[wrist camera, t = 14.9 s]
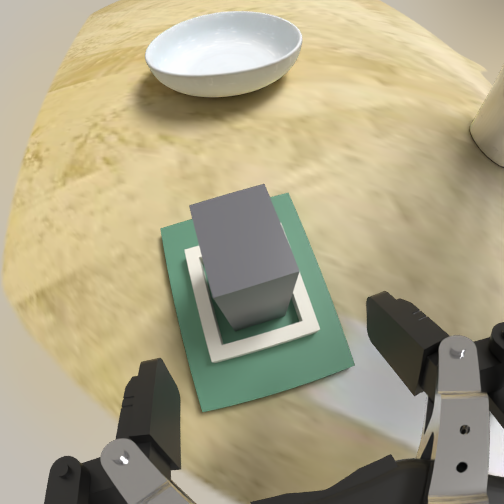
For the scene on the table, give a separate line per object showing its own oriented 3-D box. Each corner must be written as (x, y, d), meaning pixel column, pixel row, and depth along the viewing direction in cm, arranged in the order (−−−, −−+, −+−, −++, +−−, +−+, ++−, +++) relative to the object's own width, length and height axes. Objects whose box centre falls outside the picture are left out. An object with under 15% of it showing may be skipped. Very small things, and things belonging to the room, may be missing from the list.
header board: (164, 234, 27) (155, 220, 25) (287, 199, 28) (289, 182, 26) (205, 410, 21) (198, 414, 18) (350, 365, 22) (360, 364, 19)
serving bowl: (132, 86, 38) (119, 51, 32) (233, 35, 43) (230, 4, 37) (217, 143, 32) (208, 95, 25) (328, 74, 37) (334, 36, 31)
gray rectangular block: (217, 271, 24) (188, 204, 15) (264, 256, 24) (263, 182, 15) (235, 331, 22) (213, 298, 13) (285, 315, 22) (299, 271, 13)
